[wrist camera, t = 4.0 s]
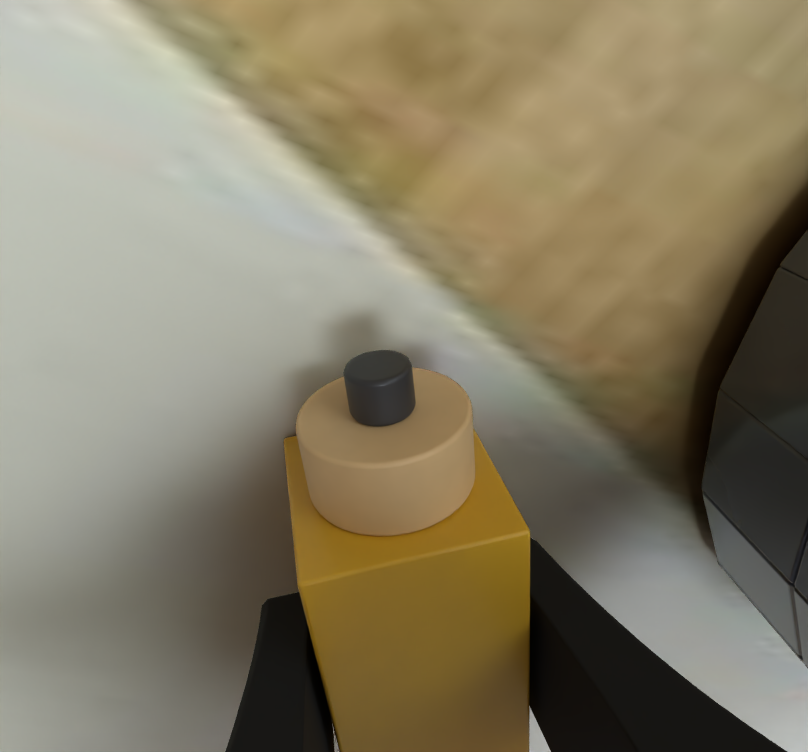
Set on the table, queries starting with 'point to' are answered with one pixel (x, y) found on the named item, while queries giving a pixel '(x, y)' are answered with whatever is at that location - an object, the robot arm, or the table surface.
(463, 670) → the pencil
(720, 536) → the bowl
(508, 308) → the table surface
